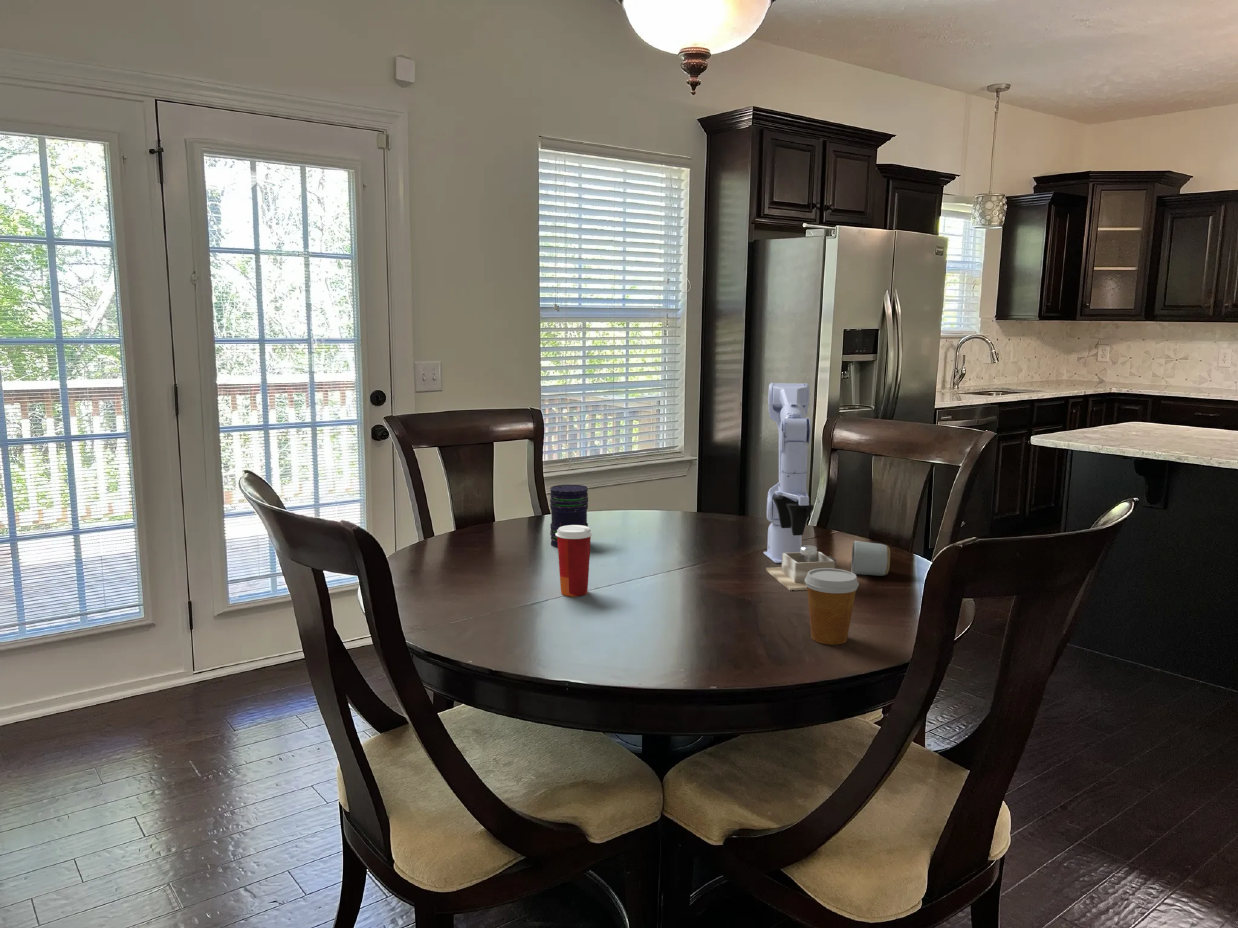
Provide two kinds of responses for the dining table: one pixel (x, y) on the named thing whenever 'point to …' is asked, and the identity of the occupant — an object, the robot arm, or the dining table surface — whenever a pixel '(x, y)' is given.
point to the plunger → (808, 552)
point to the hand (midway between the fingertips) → (791, 531)
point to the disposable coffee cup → (830, 603)
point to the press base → (799, 569)
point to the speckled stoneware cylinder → (870, 558)
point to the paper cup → (574, 559)
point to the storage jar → (567, 508)
